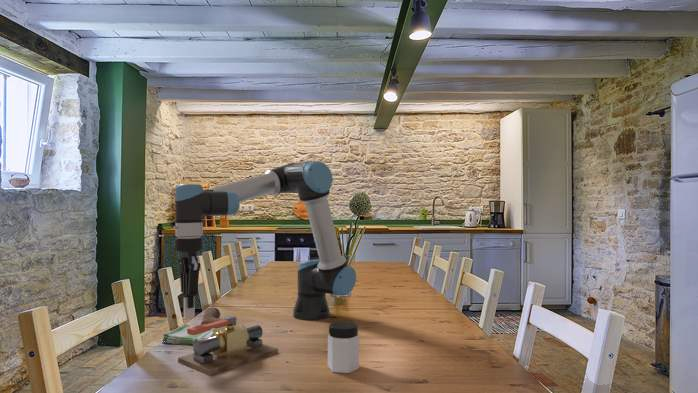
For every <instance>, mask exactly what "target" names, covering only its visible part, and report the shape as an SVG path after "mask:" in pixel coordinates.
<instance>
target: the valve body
mask: <svg viewBox="0 0 698 393" xmlns="http://www.w3.org/2000/svg"><path fill="white" fill-rule="evenodd" d="M263 334H264V332H263V329H262V327H261V326H260V325H259V324H257V325H253V326H249V327H246V326H244V325H237V324H236V325H235V324H232V325H226V326H224V327H220V328H216V329H213V334H212V335H211V337H210V338H207V339H203V340H200V341H196V342H195V343H194V345H192V350H193V353H194V361H196V362H198V363H201V364H203V365H204V364H207V363H210V362H213V354H215V355H218V356H221V357H224V358H226V359H228V358H231V357H234V356H237V355H240V354H243V353H246V352H247V346H249V347H252V348H258V347H261V346H262V344H263V339H262V336H263ZM210 352H213V354H210Z"/></svg>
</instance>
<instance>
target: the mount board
mask: <svg viewBox="0 0 698 393" xmlns="http://www.w3.org/2000/svg"><path fill="white" fill-rule="evenodd" d="M278 351H279V350H278V348H277V347H274V346H270V345H267V344H264V343H262V346H261V347H258V348H252V347H249V346H247V352H246V353H243V354H240V355H237V356H234V357H231V358H228V359H226V358H224V357H221V356H218V355H215V354H213V352H210V354H213V362H210V363H207V364H204V365H203V364H201V363H198V362H196V361H194V352H193V353H190V354H187V355H183V356H180V357H177V362H178V363H180V364H182V365H185V366H187V367H189V368H192V369H194V370H197V371H199V372H201V373H203V374H206V375H209V376H213V375H216V374H219V373H222V372H225V371H227V370H231V369H233V368H236V367H240V366H242V365H243V366H244V365H245V364H247V363H250V362H254V361H257V360H260V359H264V358H265V357H268V356H272V355H274V354H278Z"/></svg>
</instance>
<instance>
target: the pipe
mask: <svg viewBox="0 0 698 393" xmlns="http://www.w3.org/2000/svg"><path fill="white" fill-rule="evenodd" d="M223 319H224V318H221V312H220V310H219V309H218V308H217V307H214V306H213V307H212V306H211V307H208V308H207V309H205V311H204V315H203V317H202V321H201V323H200V325H203V324H209V323H213V322H216V321H220V320H223ZM235 325H236V326H237V323H236V324H235ZM224 326H226V325H223V326H220V327H224ZM220 327H217V328H220Z"/></svg>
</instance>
